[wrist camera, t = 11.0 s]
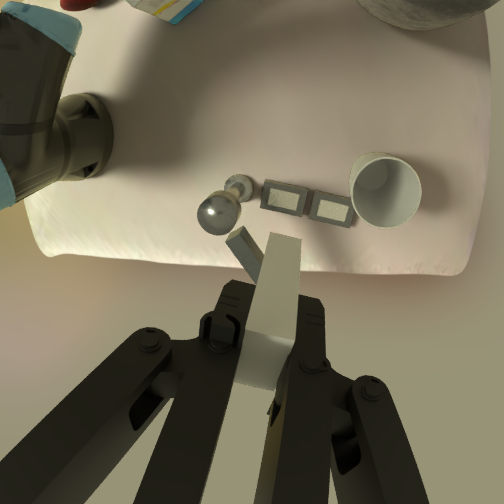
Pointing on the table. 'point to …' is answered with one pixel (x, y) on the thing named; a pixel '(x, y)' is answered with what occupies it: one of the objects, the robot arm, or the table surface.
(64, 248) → the table surface
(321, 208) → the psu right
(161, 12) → the ink box
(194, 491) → the robot arm
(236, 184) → the post
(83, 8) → the apple
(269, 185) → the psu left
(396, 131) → the table surface
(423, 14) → the vase
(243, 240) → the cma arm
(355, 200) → the cup
